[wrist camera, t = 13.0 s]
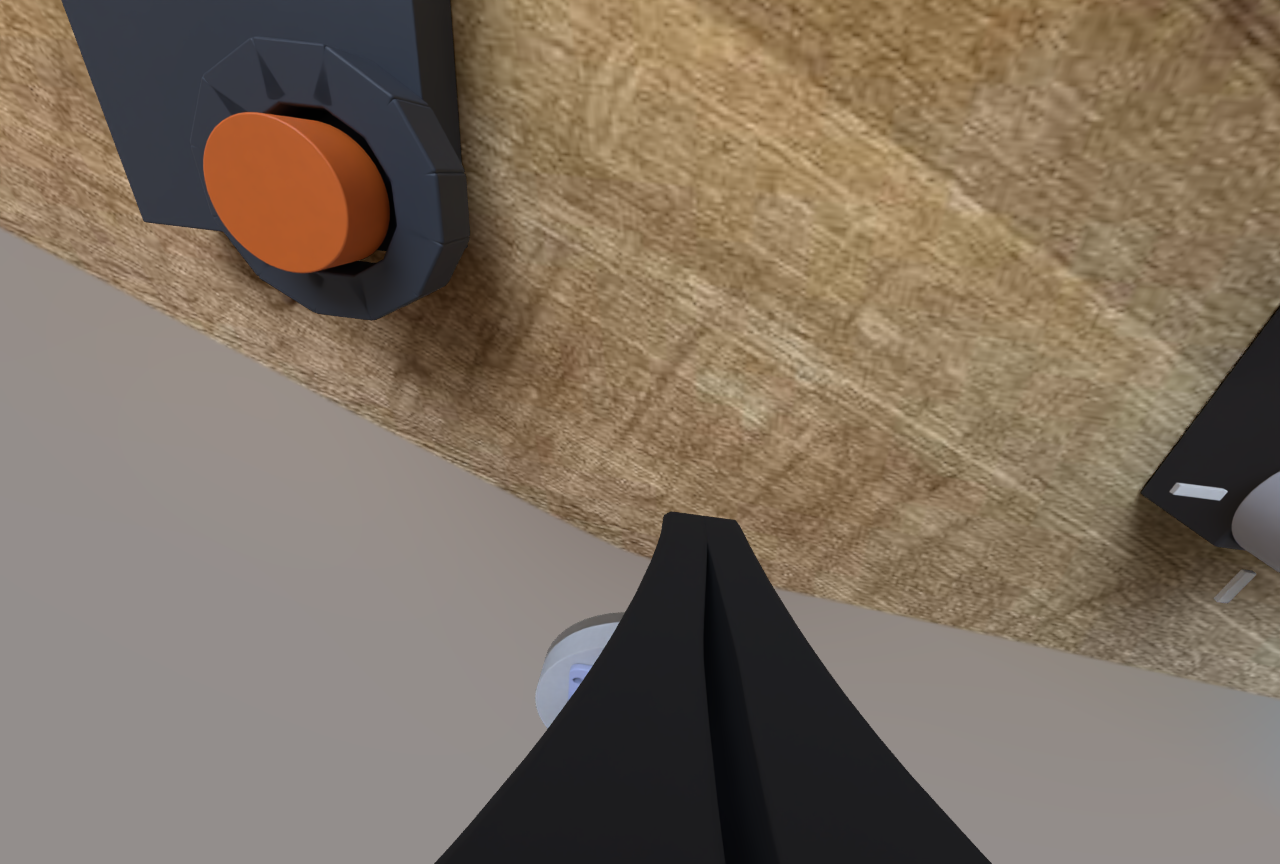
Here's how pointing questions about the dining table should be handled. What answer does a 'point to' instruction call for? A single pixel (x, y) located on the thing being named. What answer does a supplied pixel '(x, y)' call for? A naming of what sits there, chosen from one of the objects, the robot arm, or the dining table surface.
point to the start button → (295, 191)
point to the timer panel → (1226, 451)
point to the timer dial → (1260, 522)
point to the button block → (294, 87)
